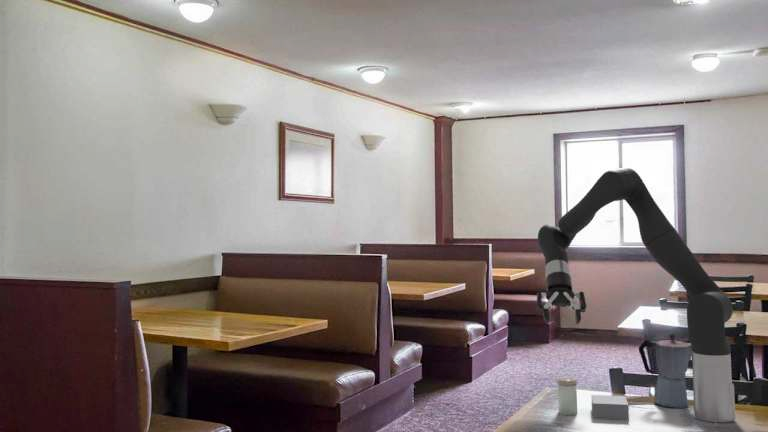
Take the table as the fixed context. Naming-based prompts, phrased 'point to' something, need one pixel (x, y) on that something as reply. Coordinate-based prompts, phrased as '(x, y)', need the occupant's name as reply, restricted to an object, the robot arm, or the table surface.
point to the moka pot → (669, 370)
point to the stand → (610, 407)
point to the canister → (567, 396)
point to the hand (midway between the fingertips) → (562, 322)
